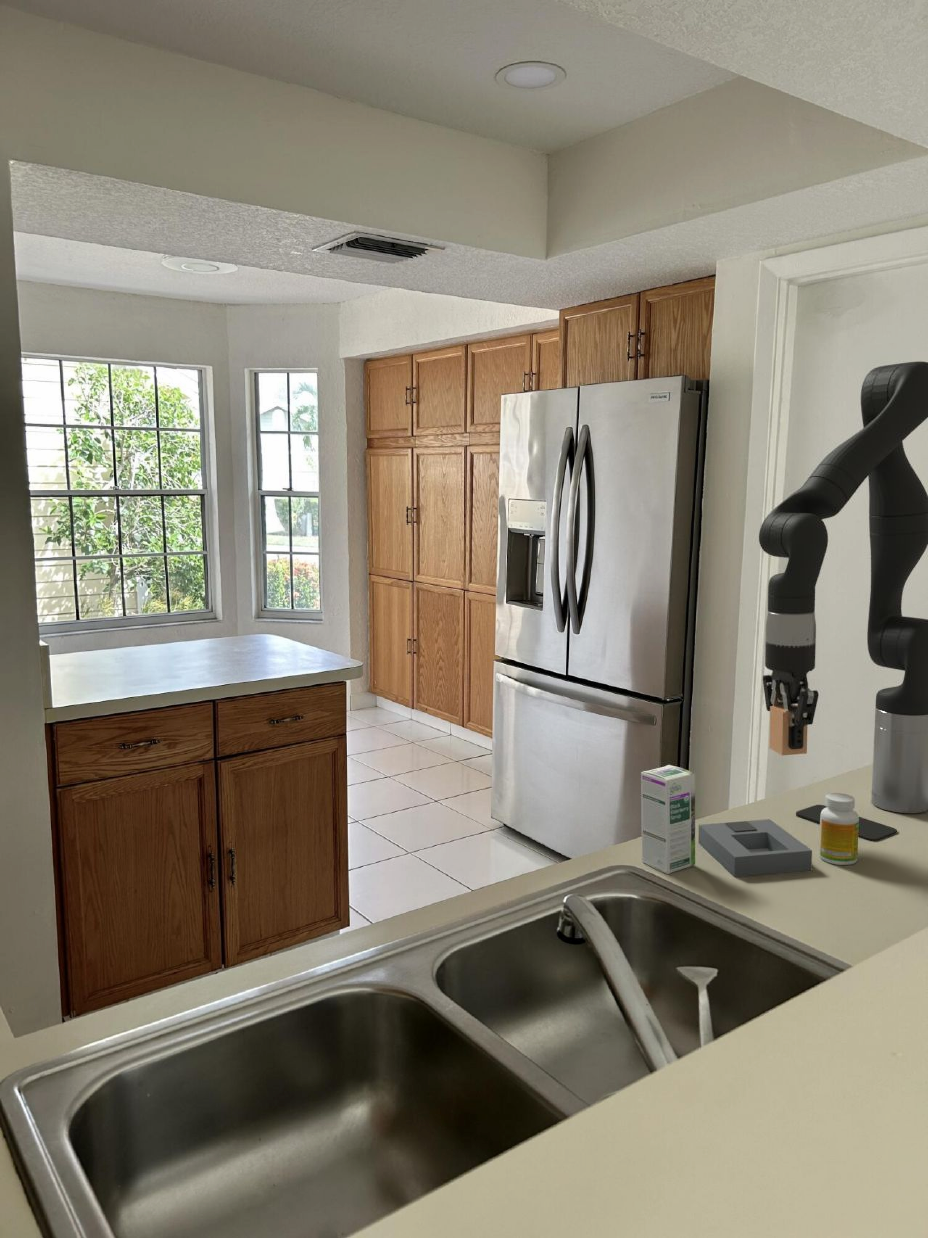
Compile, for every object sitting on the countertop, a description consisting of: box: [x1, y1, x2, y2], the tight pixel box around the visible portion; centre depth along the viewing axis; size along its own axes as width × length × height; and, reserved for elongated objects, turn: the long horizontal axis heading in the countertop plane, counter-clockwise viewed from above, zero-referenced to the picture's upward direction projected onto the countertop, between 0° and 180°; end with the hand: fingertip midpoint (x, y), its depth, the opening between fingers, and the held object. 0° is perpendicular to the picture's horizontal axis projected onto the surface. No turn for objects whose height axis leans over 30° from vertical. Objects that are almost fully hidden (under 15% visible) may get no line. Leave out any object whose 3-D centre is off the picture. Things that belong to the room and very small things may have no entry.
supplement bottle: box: [818, 792, 860, 866], centre depth 137 cm, size 5×5×10 cm
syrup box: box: [640, 764, 696, 875], centre depth 136 cm, size 6×6×14 cm
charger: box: [769, 704, 808, 756], centre depth 146 cm, size 4×4×7 cm
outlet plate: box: [697, 818, 813, 878], centre depth 139 cm, size 12×13×3 cm
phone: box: [795, 804, 898, 842], centre depth 152 cm, size 7×1×15 cm
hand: (788, 743), depth 147 cm, fingers closed on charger, 4 cm apart
